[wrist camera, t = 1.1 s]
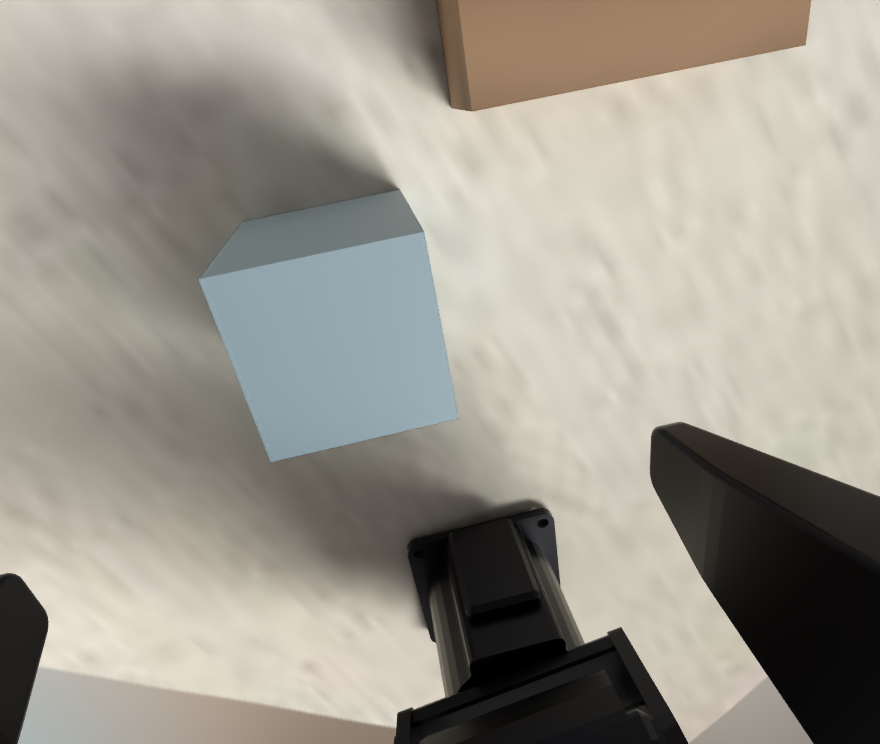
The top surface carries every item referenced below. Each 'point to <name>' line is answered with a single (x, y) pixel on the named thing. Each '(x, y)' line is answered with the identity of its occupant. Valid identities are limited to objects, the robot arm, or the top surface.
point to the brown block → (599, 42)
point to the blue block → (332, 324)
